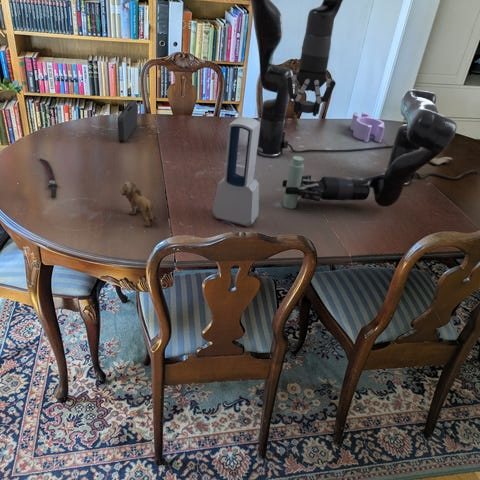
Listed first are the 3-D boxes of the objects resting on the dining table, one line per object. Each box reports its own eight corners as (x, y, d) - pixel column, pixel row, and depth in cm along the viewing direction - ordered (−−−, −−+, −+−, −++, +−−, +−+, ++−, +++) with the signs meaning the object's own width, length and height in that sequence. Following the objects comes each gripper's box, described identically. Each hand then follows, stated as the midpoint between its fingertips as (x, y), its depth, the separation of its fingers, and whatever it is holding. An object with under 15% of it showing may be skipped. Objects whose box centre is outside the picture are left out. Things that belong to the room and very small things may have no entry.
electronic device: (258, 217, 142) (270, 121, 125) (250, 229, 135) (262, 130, 119) (220, 208, 144) (227, 113, 128) (210, 219, 138) (217, 120, 122)
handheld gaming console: (131, 122, 200) (130, 99, 195) (137, 123, 200) (136, 100, 195) (117, 142, 181) (116, 117, 175) (124, 142, 181) (123, 117, 176)
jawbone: (444, 169, 189) (445, 165, 188) (396, 154, 200) (397, 150, 198) (451, 162, 195) (453, 157, 194) (405, 147, 205) (406, 143, 204)
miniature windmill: (295, 130, 212) (306, 61, 195) (276, 127, 213) (286, 58, 196) (297, 124, 219) (308, 57, 203) (279, 121, 220) (288, 54, 204)
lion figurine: (118, 210, 138) (116, 182, 133) (132, 204, 141) (131, 177, 137) (151, 229, 130) (150, 201, 126) (165, 223, 134) (165, 195, 129)
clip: (343, 126, 223) (346, 112, 219) (367, 127, 225) (371, 113, 221) (360, 142, 206) (364, 127, 202) (386, 142, 209) (390, 127, 205)
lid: (296, 111, 132) (298, 103, 131) (298, 107, 136) (299, 99, 135) (313, 114, 132) (315, 106, 130) (314, 109, 136) (315, 101, 134)
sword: (61, 197, 141) (61, 193, 140) (50, 198, 139) (50, 194, 139) (49, 160, 164) (48, 156, 163) (39, 160, 163) (39, 157, 162)
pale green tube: (289, 201, 153) (298, 154, 144) (298, 206, 150) (308, 159, 142) (280, 203, 151) (288, 156, 142) (289, 209, 148) (298, 162, 139)
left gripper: (290, 52, 122) (281, 116, 131) (344, 57, 122) (331, 121, 131) (288, 46, 128) (279, 108, 137) (339, 51, 128) (327, 112, 138)
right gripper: (332, 168, 153) (281, 166, 151) (345, 188, 141) (290, 186, 139) (327, 188, 157) (278, 187, 155) (340, 209, 145) (287, 208, 143)
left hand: (305, 114), depth 134 cm, fingers closed on lid, 4 cm apart
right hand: (284, 187), depth 147 cm, fingers closed on pale green tube, 4 cm apart
